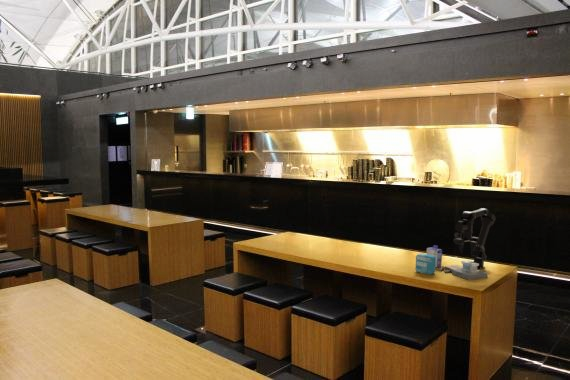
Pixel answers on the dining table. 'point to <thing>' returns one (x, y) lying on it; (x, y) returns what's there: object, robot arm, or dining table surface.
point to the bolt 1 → (442, 268)
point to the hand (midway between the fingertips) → (466, 252)
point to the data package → (425, 263)
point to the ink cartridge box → (436, 253)
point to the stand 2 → (469, 274)
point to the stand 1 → (453, 267)
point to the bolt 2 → (448, 271)
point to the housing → (470, 266)
